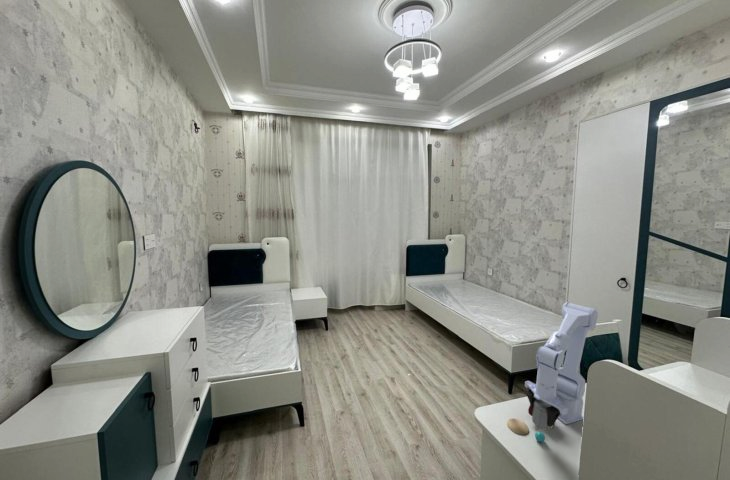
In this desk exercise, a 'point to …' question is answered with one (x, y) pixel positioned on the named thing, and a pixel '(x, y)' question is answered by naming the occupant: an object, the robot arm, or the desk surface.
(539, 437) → the marble
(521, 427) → the tan round coaster
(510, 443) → the desk surface
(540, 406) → the faceted grey cylinder
